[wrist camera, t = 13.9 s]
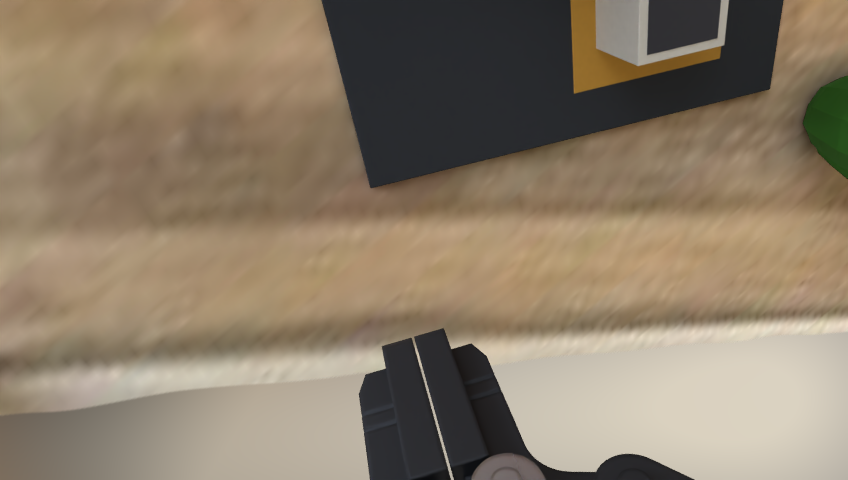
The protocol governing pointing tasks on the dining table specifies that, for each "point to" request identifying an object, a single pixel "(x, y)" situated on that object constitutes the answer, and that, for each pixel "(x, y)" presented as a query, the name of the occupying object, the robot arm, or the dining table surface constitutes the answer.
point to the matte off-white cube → (659, 28)
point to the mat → (517, 77)
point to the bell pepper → (830, 123)
